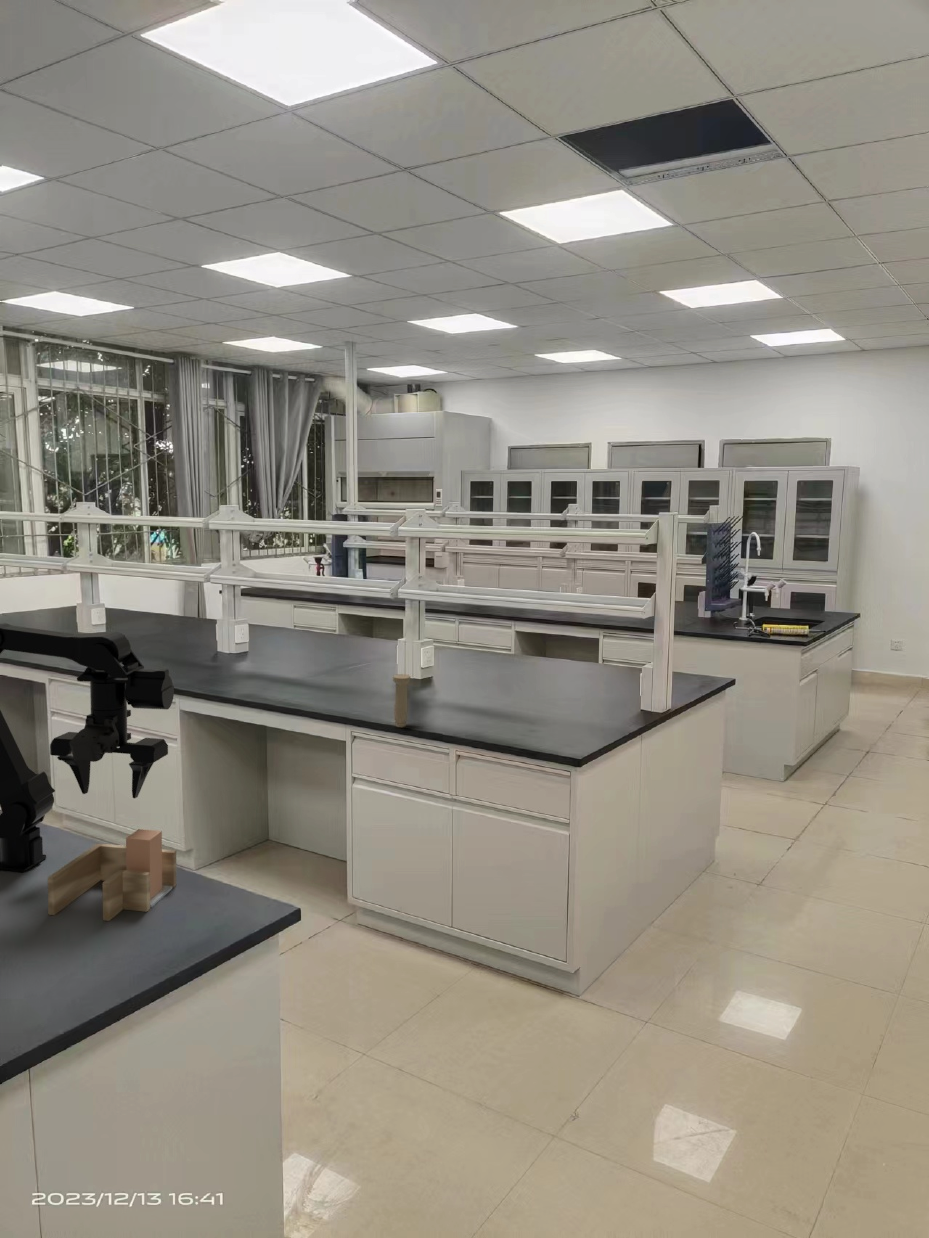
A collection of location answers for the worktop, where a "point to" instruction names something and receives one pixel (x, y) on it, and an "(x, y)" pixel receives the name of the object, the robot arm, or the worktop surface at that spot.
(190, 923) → the worktop surface
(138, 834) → the peg
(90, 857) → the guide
